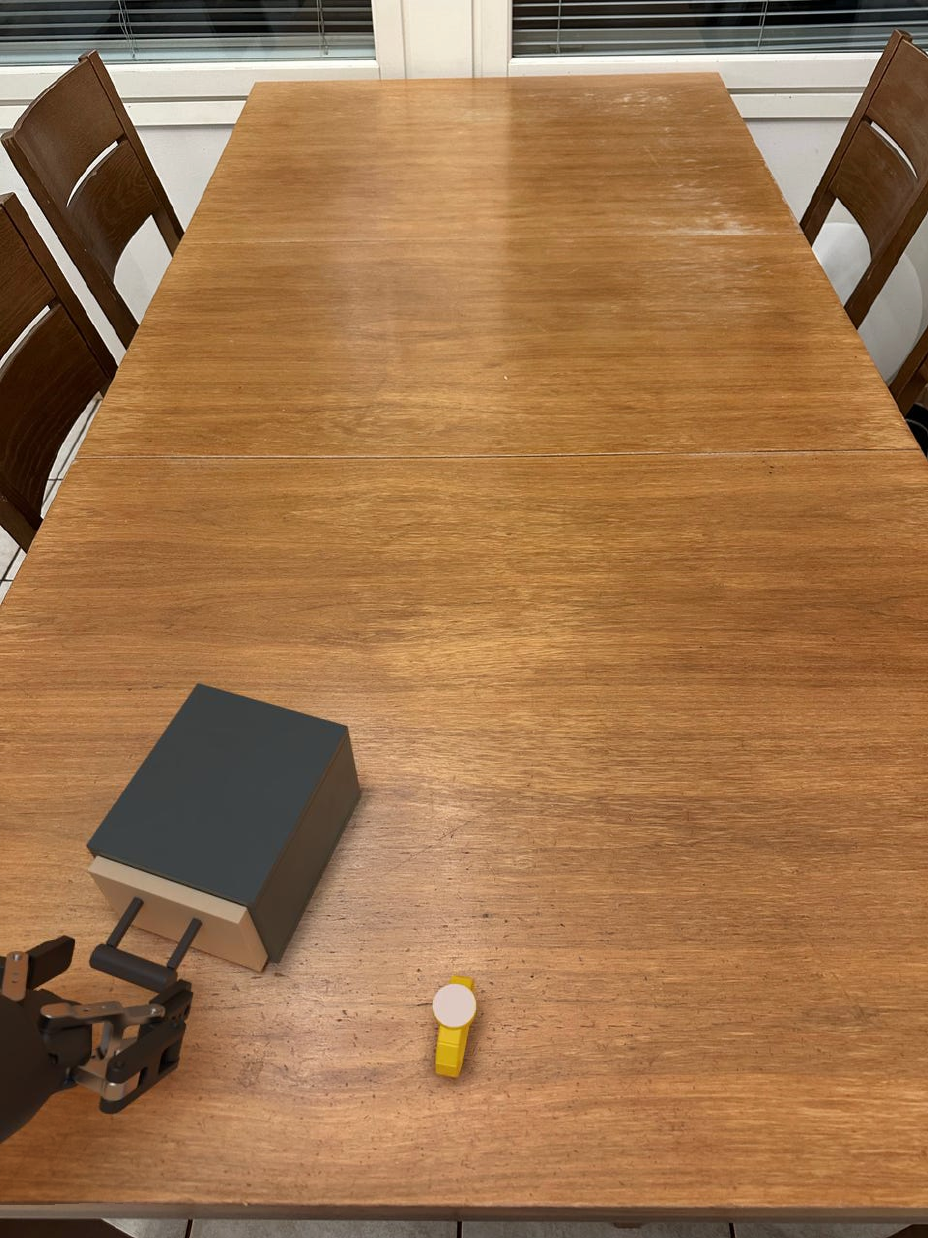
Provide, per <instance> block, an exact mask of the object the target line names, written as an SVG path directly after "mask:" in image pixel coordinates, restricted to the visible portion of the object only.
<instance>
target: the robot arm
mask: <svg viewBox="0 0 928 1238" xmlns="http://www.w3.org/2000/svg"><path fill="white" fill-rule="evenodd" d="M75 947H76V939H75V938H74V937H71V936H68V935H66V934H63V935H61V936H59V937H57V938H55V939H49V940H45V941H43V942H42V943H39V944H37V945H35V946H34V947H32V948H30V949H28V950H26V951H22V950H15V951H10V952H8V953H7V955H6V956H4V955H3V956H2V955H0V1146H1V1145H2V1144H3V1143H4V1142H6V1141H7V1140H9V1139H10V1138H11V1137H13V1136H14V1135H15V1134H17V1133H18V1132H19V1131H20V1130H22V1129H23V1128H24V1127H25V1126H27V1125H28V1123H30V1122H31V1120H33V1118H35V1116H36V1115H37V1114H38V1113H39V1111H40V1110H41V1109H42V1108H43V1107H44V1106H45V1104H46V1103H47V1101H48V1100H49V1099H50V1098H51V1097H53V1096H54V1095H55V1094H58V1093H60V1092H63V1091H67V1090H71V1089H73V1088H76V1087H78V1086H82V1087H84V1088H86V1089H88V1090H90V1091H92V1092H94V1093H96V1094H98V1095H100V1098H99V1104H98V1110H99V1112H101V1113H103V1114H106V1115H116V1114H118V1113H120V1112H122V1111H123V1110H124V1109H126V1108H128V1107H129V1105H131V1104H132V1103H133V1102H135V1101H136V1100H137V1099H139V1098H140V1097H141V1096H143V1095H144V1094H145V1093H147V1092H148V1091H149V1090H151V1089H152V1088H154V1086H156V1085H157V1084H159V1083H160V1082H161V1081H162V1080H164V1079H165V1078H166V1077H167V1076H169V1075H170V1074H172V1073H173V1072H174V1071H175V1070H177V1069H178V1068H179V1065H180V1064H179V1063H180V1058H181V1057H180V1055H181V1051H182V1047H183V1046H182V1045H183V1042H184V1036H185V1035H186V1032H187V1026H188V1025H187V1023H186V1022H185V1021H187V1020H188V1019H189V1016H190V1012H191V1008H192V1003H193V998H194V994H195V993H194V991H192V988H193V983H192V982H191V981H188V980H185V979H183V978H179V979H177V981H176V982H175V983H173V984H172V985H171V986H169V987H168V988H166V989H165V990H164V991H162V992H161V993H159V994H158V993H157V994H156V995H155V996H154V997H152V998H151V999H149V1001H148V1003H147V1004H140V1005H131V1006H123V1005H122V1003H121V1002H120V1001H118V1000H108V1001H107V1000H106V1001H100V1002H92V1003H91V1002H90V1003H85V1004H83V1003H81V1002H78V1001H75V1000H71V999H65V998H62V997H60V996H59V995H58V994H56V993H55V992H52V991H50V990H48V989H45V988H43V987H41V986H42V985H44V984H46V983H48V982H50V981H51V980H53V979H55V978H56V977H58V976H60V975H61V974H63V973H66V972H67V970H69V968H70V967H71V965H72V961H73V957H74V951H75ZM39 987H41V988H40V989H37V988H39ZM101 1023H103V1027H102V1032H101V1038H100V1042H99V1044H98V1046H97V1047H95V1048H94V1049H93V1028H94V1025H96V1024H101ZM134 1026H135V1027H136V1026H139V1027H138V1032H137V1036H133V1037H132V1036H131V1037H126V1038H125V1037H124V1034H125V1030H126V1029H127V1028H129V1027H134ZM123 1037H124V1038H123Z"/></svg>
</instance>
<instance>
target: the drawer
mask: <svg viewBox="0 0 928 1238" xmlns="http://www.w3.org/2000/svg"><path fill="white" fill-rule="evenodd" d="M132 867H133V866H132ZM132 867H129V866H126V865H123V864H121V863H118V862H115V861H112V860H109V859H106V858H103V857H100V856H97V857H96V858H95V859H93V861H92V862H91V864H90V865H89V867H88V869H87V872H88V874H89V875H90V877H91V878H92V880H93V881H94V882H95V884H96V886H97V887H98V889H99V890H100V893H102V895H103V896H104V898H105V899H106V900H107V902H108V904H109V905H110V906H111V908H112V909H113V911H114V912H115V914H116V915H117V917H118V919H119V921H118V922H117V924H116V925H115V927H114V928H113V930H112V932H111V934H110V935H109V936H108V938H107V939H106V942H105V943H104V942H102V943H99V944H98V945H96V946H95V947H94V949H93V950H92V952H91V954H90V956H89V961H88V966H89V967H90V968H91V969H93V970H96V971H98V972H100V973H104V974H106V975H109V976H111V977H114V978H116V979H119V980H122V981H123V982H127V983H129V984H132V985H135V986H138V987H140V988H143V989H145V990H147V991H150V992H153V993H156V994H157V995H158V994H159V993H161V992H162V991H164V990H165V989H166V988H168V987H169V986H171V985H172V984H173V983H175V982H176V981H178V977H179V975H178V974H179V973H178V971H177V970H178V969H179V967H180V965H181V964H182V961H183V960H184V958H185V957H186V954H187V952H188V951H189V949H190V947H191V948H193V949H196V950H199V951H202V952H205V953H208V954H211V955H213V956H216V957H219V958H221V959H224V960H227V961H228V962H231V963H235V964H238V965H240V966H242V967H245V968H249V969H252V970H254V971H257V972H259V973H260V972H262V970H263V968H264V966H265V964H266V962H267V961H268V960H267V958H268V955H267V953H266V950H265V948H264V946H263V943H262V941H261V939H260V937H259V934H258V932H257V930H256V927H255V925H254V923H253V920H252V918H251V916H250V914H249V911H248V909H247V907H245V905H243V904H240V903H237V902H234V901H231V900H228V899H225V898H222V897H220V896H217V895H214V894H211V893H208V892H205V891H202V890H199V889H197V888H194V887H191V886H188V885H185V884H182V883H179V882H176V881H174V880H171V879H168V878H165V877H162V876H159V875H156V874H153V873H151V872H148V871H145V870H142V869H139V868H136V867H133V868H132ZM131 926H134V927H137V928H139V929H142V930H145V931H147V932H149V933H152V934H155V935H157V936H160V937H164V938H167V939H169V940H172V941H175V942H178V944H177V945H176V947H175V949H174V951H173V952H172V954H171V956H170V957H169V959H168V961H167V962H166V965H163V964H160V963H157V962H155V961H152V960H149V959H147V958H144V957H141V956H139V955H136V954H133V953H131V952H128V951H125V950H123V949H121V948H118V947H119V945H120V943H122V940H123V938H124V937H125V936H126V933H127V932H128V930H129V928H130V927H131Z"/></svg>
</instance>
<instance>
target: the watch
mask: <svg viewBox="0 0 928 1238" xmlns="http://www.w3.org/2000/svg"><path fill="white" fill-rule="evenodd" d="M477 1005H478V1004H477V999H476V996H475V979H474V978H473V977H470V976H464V975H461V974H454V975H452V976H451V977H450V979H449V982H448V984H446V985H444V986H442V987H441V988H439V989H438V991H437V992H436V993H435V994H434V997H433V1000H432V1007H431V1008H432V1009H431V1010H432V1015H433V1018H434V1021H436V1023H437V1024H438V1026H439V1027H438V1034H437V1042H436V1051H435V1060H434V1065H435V1066H434V1067H435V1073H436V1074H437V1075H441V1076H442V1075H443V1076H448V1077H451V1078H458V1077H459V1076H460V1074H461V1070H462V1066H463V1063H464V1056H465V1051H466V1047H467V1040H468V1035H469V1030H470V1026H471V1024H472V1023H473V1021H474V1020H475V1019H476V1015H477V1009H478V1008H477Z"/></svg>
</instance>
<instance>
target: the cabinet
mask: <svg viewBox="0 0 928 1238" xmlns="http://www.w3.org/2000/svg"><path fill="white" fill-rule="evenodd" d="M350 735H351V734H350V731H349V726H348V725H346V724H343V723H340V722H335V721H332V720H329V719H325V718H321V717H318V716H315V715H311V714H307V713H304V712H301V711H297V710H293V709H290V708H286V707H283V706H279V705H276V704H273V703H269V702H266V701H262V700H259V699H255V698H252V697H248V696H245V695H242V694H238V693H235V692H231V691H228V690H225V689H220V688H217V687H214V686H210V685H207V684H203V683H199V682H197V683H196V684H195V686H194V687H193V689H192V691H191V692H190V693H189V695H188V696H187V698H186V699H185V700H184V702H183V703H182V705H181V707H180V708H179V709H178V711H177V712H176V714H175V715H174V716H173V718H172V719H171V721H170V723H169V724H168V725H167V727H166V728H165V730H164V731H163V733H162V734H161V736H160V737H159V739H158V740H157V741H156V743H155V744H154V746H152V749H150V751H149V753H148V754H147V756H146V757H145V759H144V760H143V761H142V763H141V765H140V766H139V768H138V769H137V770H136V772H135V773H134V775H133V776H132V778H131V779H130V780H129V782H128V783H127V785H126V787H124V789H123V790H122V792H121V794H120V795H119V796H118V798H117V799H116V801H115V802H114V803H113V805H112V807H111V808H110V810H109V811H108V812H107V813H106V816H105V817H104V818H103V820H102V821H101V822H100V824H99V826H98V827H97V829H96V830H95V831H94V833H93V835H92V836H91V837H90V839H89V840H88V842H87V843H86V845H85V847H86V848H87V850H88V852H89V853H90V854H91V856H92V858H93V860H95V858H96V857H97V856H100V857H103V858H106V859H109V860H112V861H115V862H118V863H121V864H123V865H126V866H129V867H132V866H133V867H136V868H139V869H142V870H145V871H148V872H151V873H153V874H156V875H159V876H162V877H165V878H168V879H171V880H174V881H176V882H179V883H182V884H185V885H188V886H191V887H194V888H197V889H199V890H202V891H205V892H208V893H211V894H214V895H217V896H220V897H222V898H225V899H228V900H231V901H234V902H237V903H240V904H243V905H245V907H247V909H248V911H249V914H250V916H251V918H252V920H253V923H254V925H255V927H256V930H257V932H258V934H259V937H260V939H261V941H262V943H263V946H264V948H265V950H266V953H267V955H268V958H267V960H266V961H269V962H272V963H274V964H276V965H278V964H279V963H280V962H281V959H282V958H283V955H284V953H285V952H286V950H287V948H288V945H289V944H290V941H291V940H292V938H293V936H294V933H295V931H296V929H297V927H298V925H299V923H300V921H301V919H302V917H303V915H304V913H305V912H306V909H307V907H308V905H309V903H310V900H311V899H312V897H313V894H314V893H315V890H316V889H317V887H318V884H319V883H320V880H321V879H322V876H323V874H324V872H325V870H326V868H327V866H328V864H329V862H330V860H331V858H332V856H333V854H334V852H335V850H336V848H337V846H338V844H339V842H340V840H341V838H342V836H343V834H344V831H345V830H346V828H347V825H348V824H349V822H350V820H351V818H352V815H353V814H354V812H355V809H356V807H357V805H358V804H359V801H360V799H361V797H362V793H361V787H360V781H359V777H358V772H357V771H358V770H357V767H356V761H355V756H354V750H353V746H352V742H351V736H350ZM133 867H132V868H133Z"/></svg>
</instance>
